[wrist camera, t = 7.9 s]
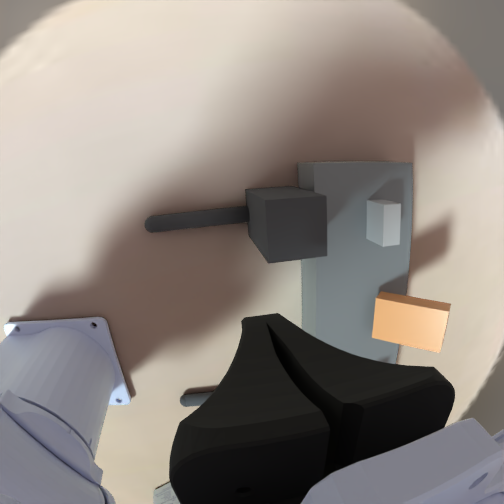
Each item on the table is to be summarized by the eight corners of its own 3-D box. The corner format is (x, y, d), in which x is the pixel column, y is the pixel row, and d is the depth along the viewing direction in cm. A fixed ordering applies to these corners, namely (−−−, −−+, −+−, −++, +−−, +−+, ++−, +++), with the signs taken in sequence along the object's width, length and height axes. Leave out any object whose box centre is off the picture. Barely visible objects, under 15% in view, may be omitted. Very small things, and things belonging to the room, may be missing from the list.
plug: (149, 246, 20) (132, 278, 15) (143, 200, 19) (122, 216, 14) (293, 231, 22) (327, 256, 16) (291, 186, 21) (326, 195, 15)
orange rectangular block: (371, 337, 21) (439, 352, 18) (375, 297, 20) (448, 311, 17) (377, 329, 22) (442, 343, 18) (381, 291, 21) (450, 303, 18)
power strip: (301, 405, 26) (318, 444, 21) (297, 162, 20) (326, 163, 16) (371, 387, 27) (396, 420, 22) (388, 161, 21) (431, 164, 17)
